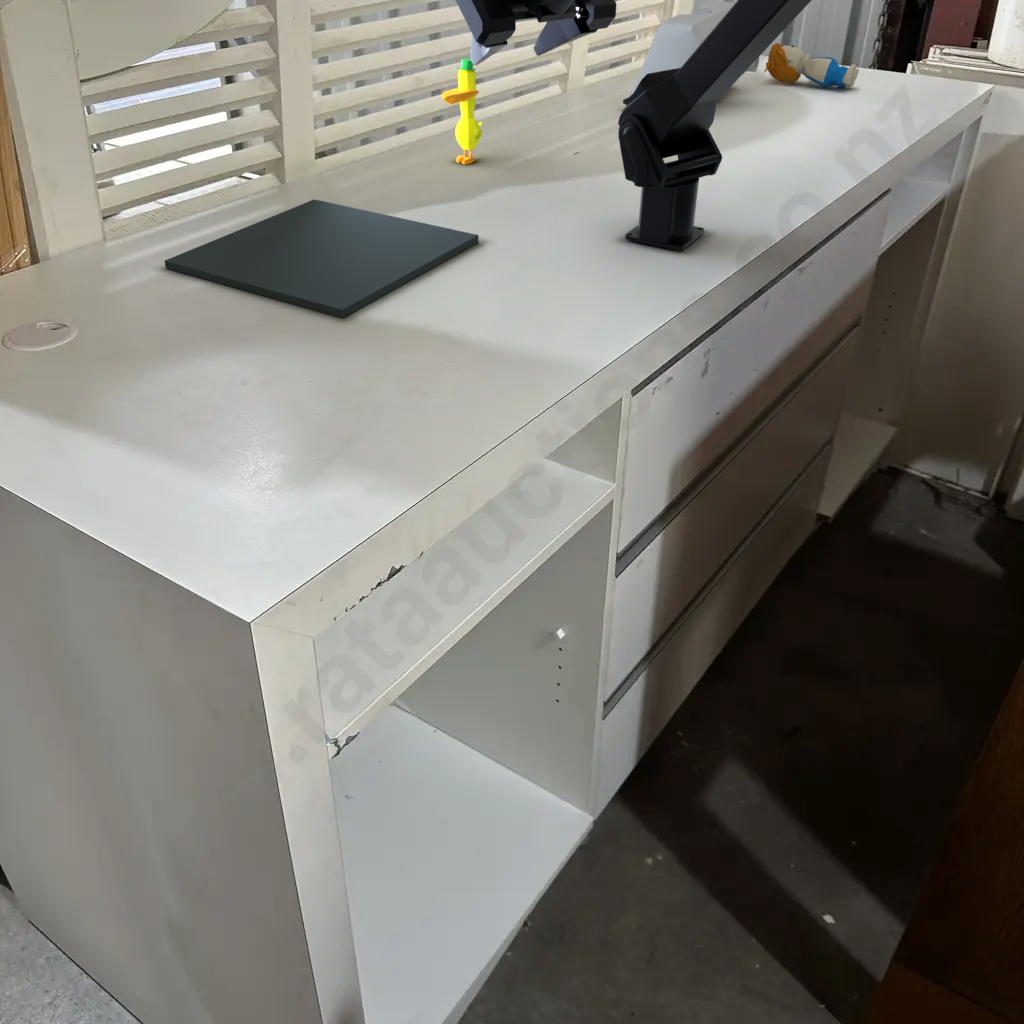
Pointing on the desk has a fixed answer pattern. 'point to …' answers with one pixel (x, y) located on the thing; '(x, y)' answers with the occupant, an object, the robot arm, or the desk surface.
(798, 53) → the toy
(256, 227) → the mat
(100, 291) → the desk surface
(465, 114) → the toy figure
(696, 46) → the tank
